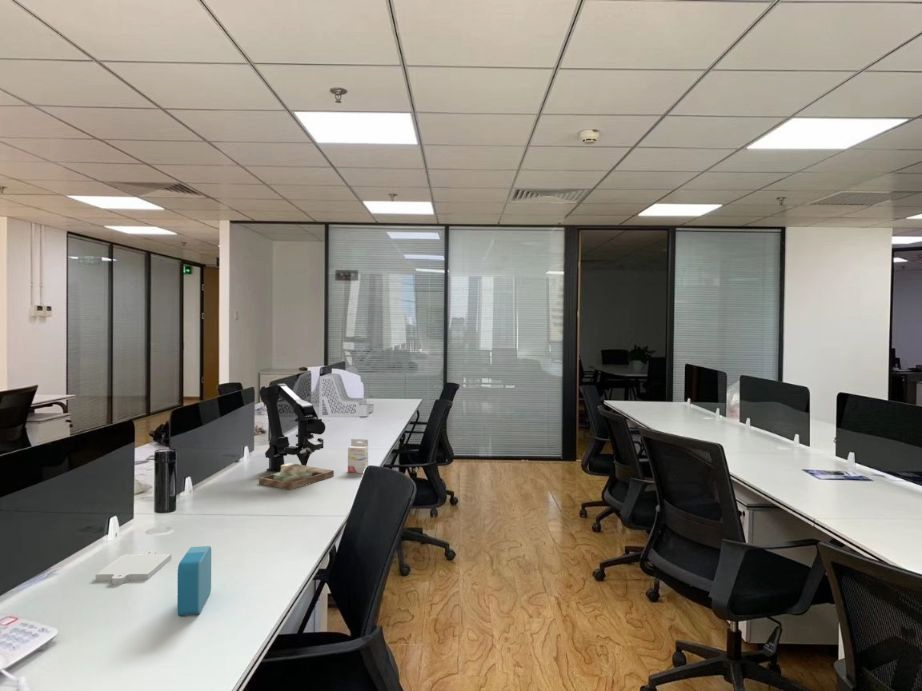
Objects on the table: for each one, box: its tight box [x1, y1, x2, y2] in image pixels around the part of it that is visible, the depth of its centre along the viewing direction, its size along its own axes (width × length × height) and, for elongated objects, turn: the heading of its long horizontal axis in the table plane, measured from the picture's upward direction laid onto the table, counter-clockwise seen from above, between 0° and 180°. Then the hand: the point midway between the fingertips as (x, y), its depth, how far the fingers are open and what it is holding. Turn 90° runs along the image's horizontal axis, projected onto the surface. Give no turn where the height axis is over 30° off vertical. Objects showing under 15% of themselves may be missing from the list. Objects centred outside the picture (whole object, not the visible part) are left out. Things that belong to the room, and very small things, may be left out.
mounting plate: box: [95, 550, 172, 585], centre depth 149 cm, size 18×13×2 cm
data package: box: [176, 545, 212, 617], centre depth 130 cm, size 12×4×12 cm, turn 12°
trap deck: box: [258, 465, 335, 491], centre depth 243 cm, size 18×26×2 cm
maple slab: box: [280, 462, 307, 476], centre depth 243 cm, size 10×5×4 cm, turn 62°
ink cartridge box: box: [347, 438, 369, 474], centre depth 258 cm, size 9×5×15 cm, turn 84°
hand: (304, 467), depth 249 cm, fingers closed
